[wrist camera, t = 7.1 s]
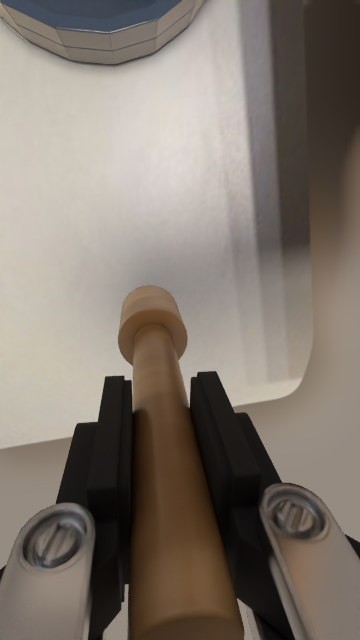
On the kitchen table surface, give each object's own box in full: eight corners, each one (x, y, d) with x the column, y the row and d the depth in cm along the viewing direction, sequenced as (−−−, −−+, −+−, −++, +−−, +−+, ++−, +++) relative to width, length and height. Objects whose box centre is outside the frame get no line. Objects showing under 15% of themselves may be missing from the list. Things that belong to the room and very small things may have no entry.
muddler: (178, 284, 18) (305, 568, 4) (177, 336, 20) (276, 689, 6) (120, 285, 18) (65, 599, 4) (123, 338, 19) (87, 721, 5)
